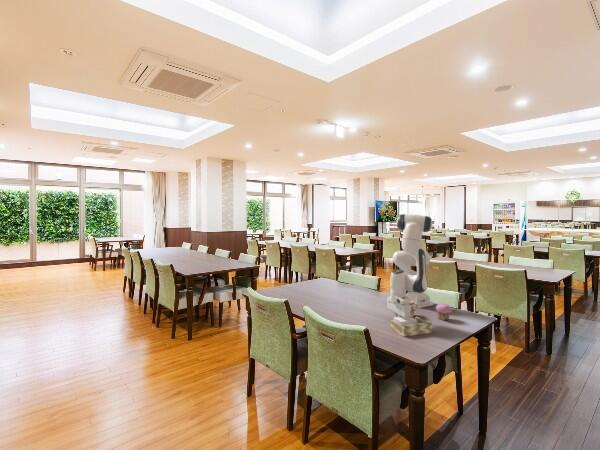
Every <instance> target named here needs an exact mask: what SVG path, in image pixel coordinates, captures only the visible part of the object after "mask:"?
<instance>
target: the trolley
mask: <svg viewBox="0 0 600 450" xmlns="http://www.w3.org/2000/svg"><path fill="white" fill-rule="evenodd" d="M393 321H395V322H397V323H398V324H400V325H402V326H405V325H413V324H417V320H416V319H415V317H406V318H405V317H403V316H402V317H395V316H394V317H393Z"/></svg>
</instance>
